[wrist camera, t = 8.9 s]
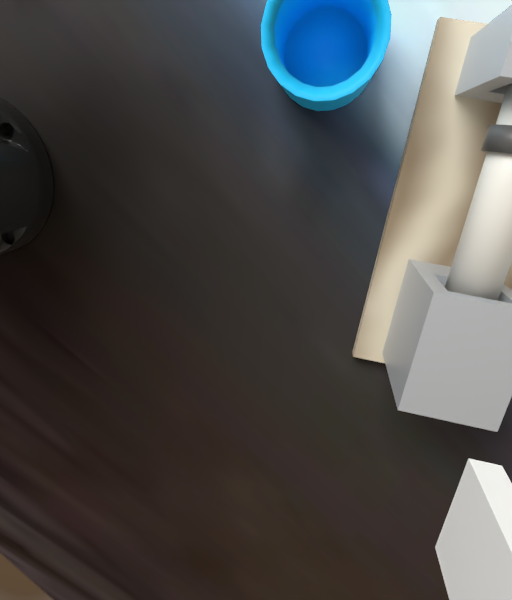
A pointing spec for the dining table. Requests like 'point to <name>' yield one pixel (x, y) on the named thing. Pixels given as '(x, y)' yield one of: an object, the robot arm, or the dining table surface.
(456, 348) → the sleeve
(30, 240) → the robot arm
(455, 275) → the tube
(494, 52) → the socket
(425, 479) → the dining table surface
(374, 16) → the mug
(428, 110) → the mount board
